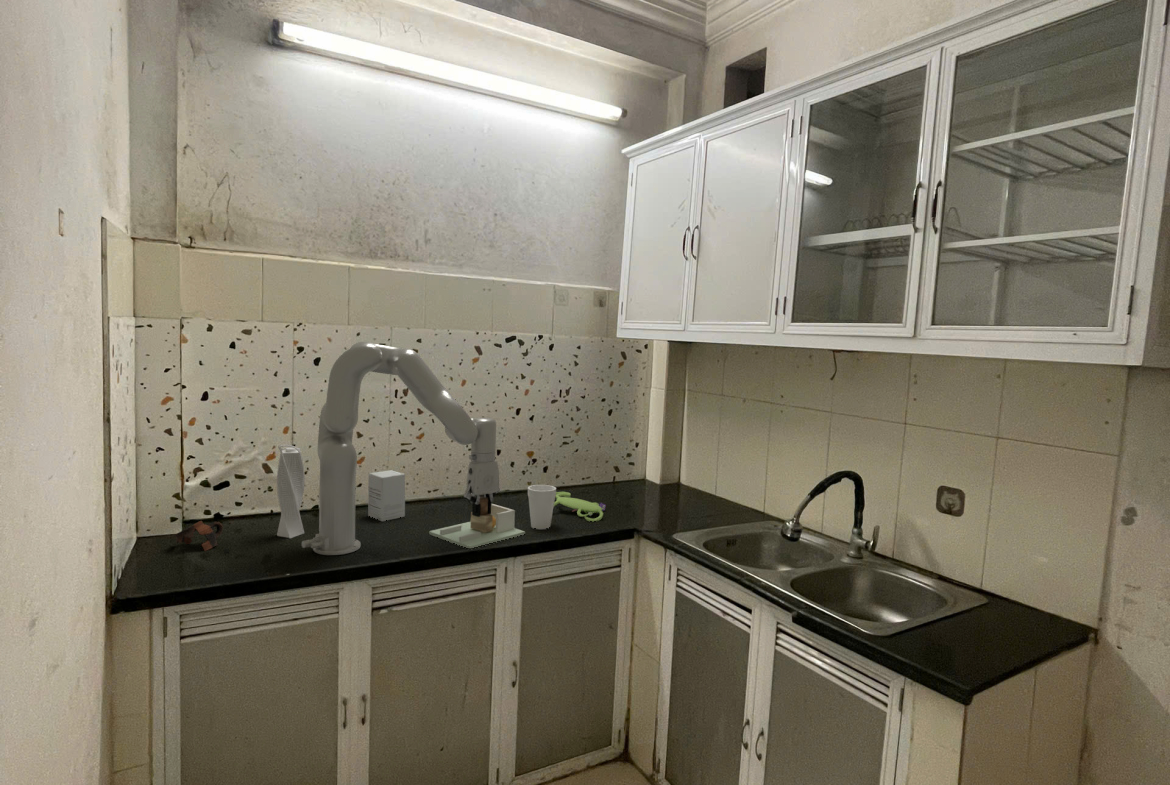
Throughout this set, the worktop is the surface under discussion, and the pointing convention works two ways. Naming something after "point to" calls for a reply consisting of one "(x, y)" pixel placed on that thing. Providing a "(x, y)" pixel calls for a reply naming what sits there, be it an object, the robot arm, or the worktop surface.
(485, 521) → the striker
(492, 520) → the ball
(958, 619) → the worktop surface
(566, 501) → the figurine
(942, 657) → the worktop surface
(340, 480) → the robot arm
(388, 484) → the supplement box
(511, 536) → the pitch
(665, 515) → the worktop surface
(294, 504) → the skyscraper
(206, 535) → the brown irregular piece
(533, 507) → the foam cup
